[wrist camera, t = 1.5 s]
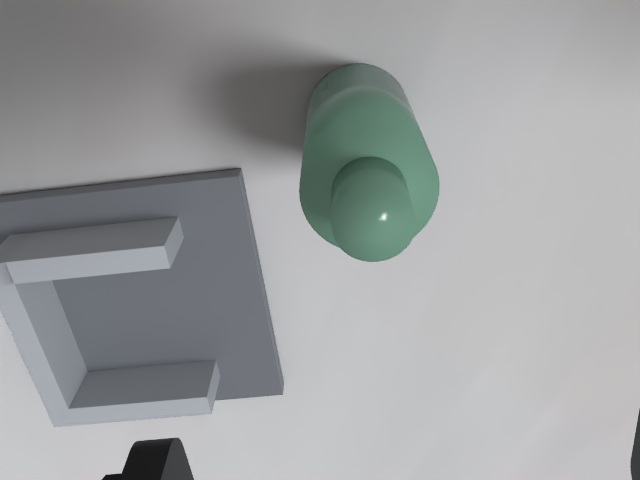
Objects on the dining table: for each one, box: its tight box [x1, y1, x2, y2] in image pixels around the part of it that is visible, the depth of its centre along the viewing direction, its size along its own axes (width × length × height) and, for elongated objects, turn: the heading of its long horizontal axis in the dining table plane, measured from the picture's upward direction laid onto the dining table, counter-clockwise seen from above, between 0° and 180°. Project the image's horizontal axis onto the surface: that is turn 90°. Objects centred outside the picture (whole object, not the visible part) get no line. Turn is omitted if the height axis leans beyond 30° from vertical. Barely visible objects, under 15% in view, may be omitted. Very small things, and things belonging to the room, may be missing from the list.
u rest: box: [0, 168, 284, 427], centre depth 32 cm, size 14×14×4 cm
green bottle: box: [299, 64, 439, 262], centre depth 24 cm, size 5×5×12 cm
